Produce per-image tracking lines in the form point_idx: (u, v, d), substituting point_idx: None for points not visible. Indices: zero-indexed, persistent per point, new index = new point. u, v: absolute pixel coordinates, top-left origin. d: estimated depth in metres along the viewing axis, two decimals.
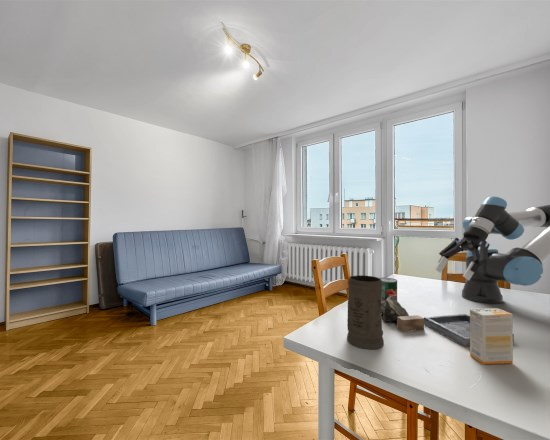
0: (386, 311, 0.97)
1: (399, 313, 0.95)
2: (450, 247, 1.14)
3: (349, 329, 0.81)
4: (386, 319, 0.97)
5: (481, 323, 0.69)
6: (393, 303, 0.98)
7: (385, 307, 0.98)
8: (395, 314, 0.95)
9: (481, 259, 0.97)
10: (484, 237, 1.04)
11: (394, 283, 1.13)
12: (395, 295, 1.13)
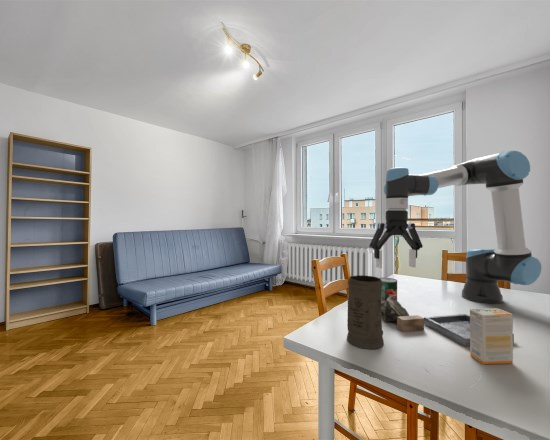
0: (386, 311, 0.97)
1: (399, 313, 0.95)
2: None
3: (349, 329, 0.81)
4: (386, 319, 0.97)
5: (481, 323, 0.69)
6: (393, 303, 0.98)
7: (385, 307, 0.98)
8: (395, 314, 0.95)
9: (421, 245, 0.99)
10: None
11: (394, 283, 1.13)
12: (395, 295, 1.13)
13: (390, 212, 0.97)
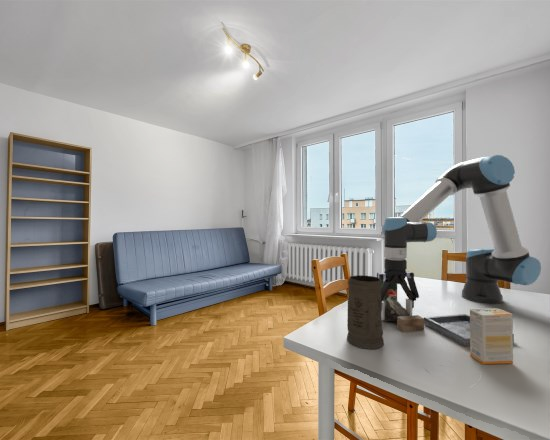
0: (386, 311, 0.97)
1: (399, 313, 0.95)
2: None
3: (349, 329, 0.81)
4: (386, 319, 0.96)
5: (481, 323, 0.69)
6: (393, 303, 0.98)
7: (385, 307, 0.98)
8: (395, 314, 0.94)
9: (417, 295, 0.99)
10: None
11: None
12: (395, 295, 1.13)
13: (389, 262, 0.97)
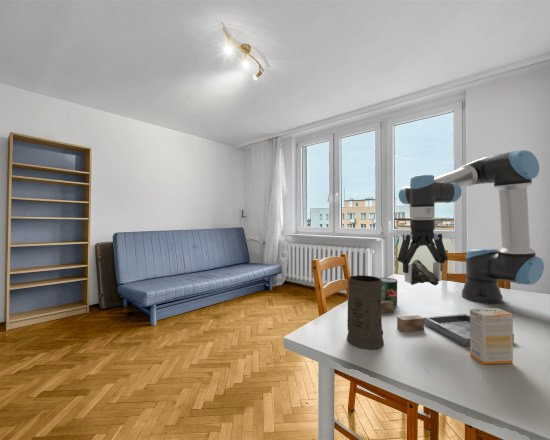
0: (413, 273, 0.92)
1: (428, 274, 0.90)
2: None
3: (349, 329, 0.81)
4: (413, 281, 0.92)
5: (481, 323, 0.69)
6: (420, 265, 0.94)
7: (412, 269, 0.93)
8: (423, 275, 0.90)
9: (446, 258, 0.95)
10: None
11: (394, 283, 1.13)
12: (395, 295, 1.13)
13: (416, 222, 0.93)
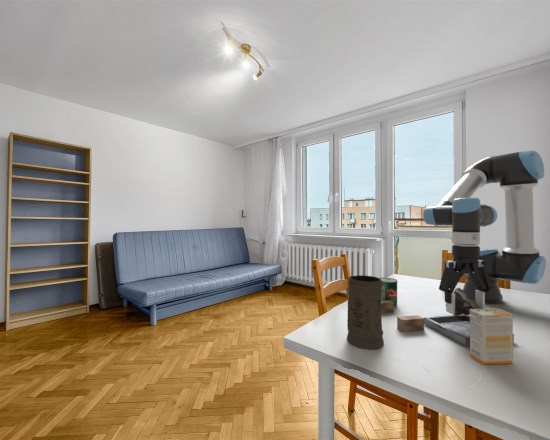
0: (457, 304, 0.86)
1: (474, 306, 0.84)
2: None
3: (349, 329, 0.81)
4: (458, 313, 0.85)
5: (481, 323, 0.69)
6: (464, 295, 0.87)
7: (455, 299, 0.86)
8: (470, 307, 0.83)
9: (490, 286, 0.88)
10: None
11: (394, 283, 1.13)
12: (395, 295, 1.13)
13: (460, 248, 0.86)
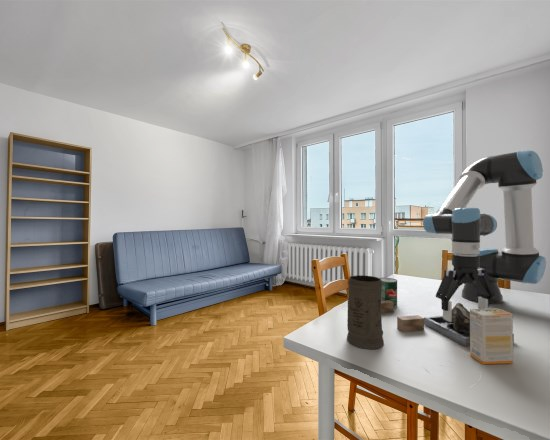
0: (458, 320, 0.86)
1: None
2: None
3: (349, 329, 0.81)
4: (458, 329, 0.85)
5: (481, 323, 0.69)
6: (465, 311, 0.87)
7: (456, 315, 0.87)
8: None
9: (493, 293, 0.88)
10: None
11: (394, 283, 1.13)
12: (395, 295, 1.13)
13: (460, 258, 0.86)
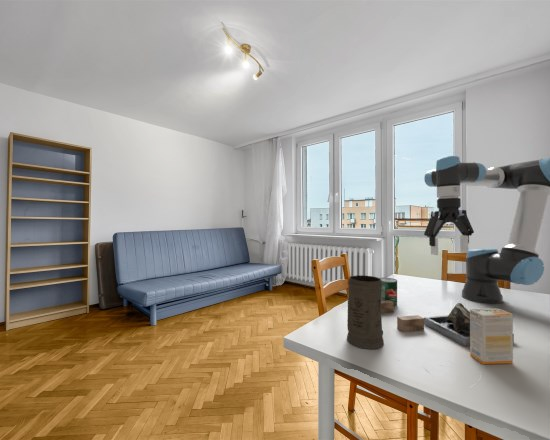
0: (458, 320, 0.86)
1: None
2: None
3: (349, 329, 0.81)
4: (459, 329, 0.85)
5: (481, 323, 0.69)
6: (465, 311, 0.87)
7: (456, 315, 0.87)
8: None
9: (472, 231, 1.03)
10: None
11: (394, 283, 1.13)
12: (395, 295, 1.13)
13: (444, 200, 0.99)
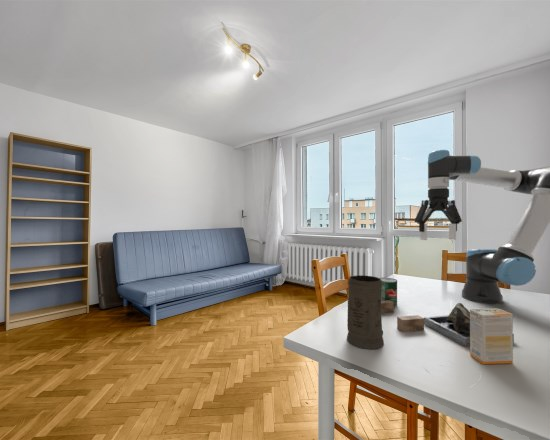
0: (458, 320, 0.86)
1: None
2: None
3: (349, 329, 0.81)
4: (459, 329, 0.85)
5: (481, 323, 0.69)
6: (465, 311, 0.87)
7: (457, 315, 0.87)
8: None
9: (460, 219, 1.11)
10: None
11: (394, 283, 1.13)
12: (395, 295, 1.13)
13: (433, 190, 1.09)
